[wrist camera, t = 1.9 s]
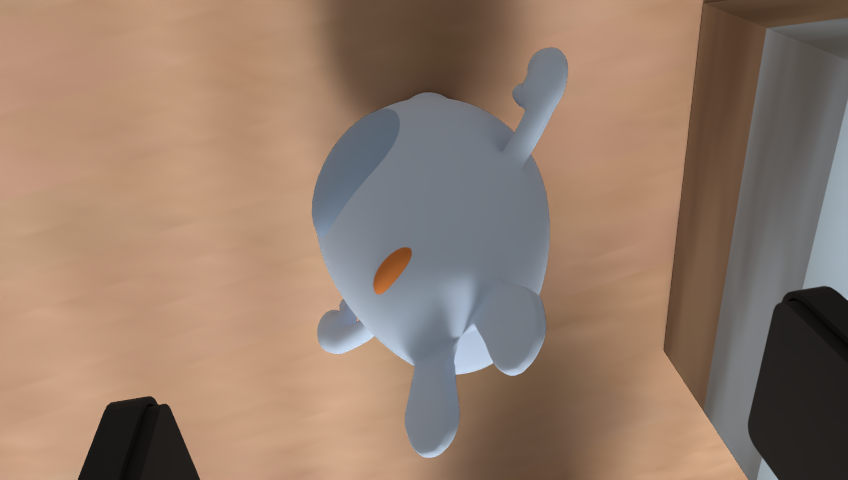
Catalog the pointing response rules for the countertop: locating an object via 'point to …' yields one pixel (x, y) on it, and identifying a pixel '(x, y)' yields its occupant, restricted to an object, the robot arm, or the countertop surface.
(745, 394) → the silver block
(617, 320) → the countertop surface
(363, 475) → the countertop surface
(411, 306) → the toy figure
